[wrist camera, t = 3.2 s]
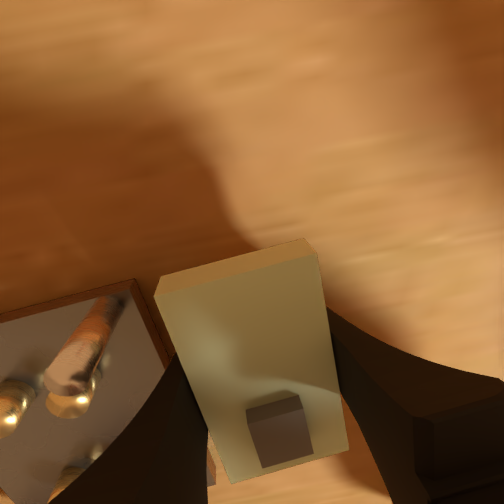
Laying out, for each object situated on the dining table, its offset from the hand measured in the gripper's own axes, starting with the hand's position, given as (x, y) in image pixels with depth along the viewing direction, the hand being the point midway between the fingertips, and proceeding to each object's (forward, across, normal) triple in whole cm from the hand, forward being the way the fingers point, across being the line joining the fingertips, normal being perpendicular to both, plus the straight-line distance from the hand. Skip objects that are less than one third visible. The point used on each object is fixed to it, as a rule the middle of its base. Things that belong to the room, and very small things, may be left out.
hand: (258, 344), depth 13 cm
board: (-1, 0, 0) cm, 1 cm away
